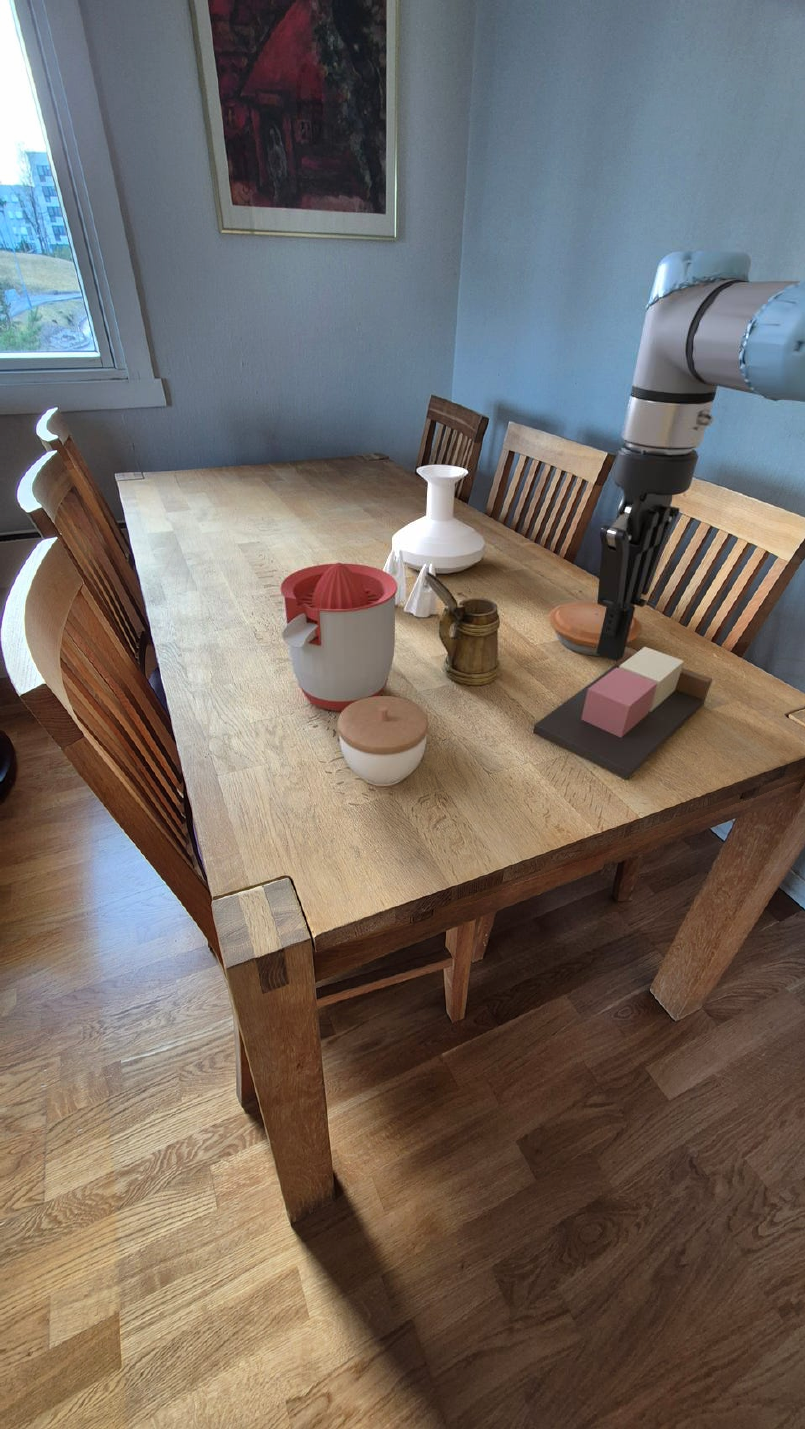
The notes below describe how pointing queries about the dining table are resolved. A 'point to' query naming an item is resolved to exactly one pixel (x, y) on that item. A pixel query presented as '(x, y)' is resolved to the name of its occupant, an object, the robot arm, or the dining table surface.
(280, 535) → the dining table surface
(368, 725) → the trinket box
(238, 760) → the dining table surface
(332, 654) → the citrus juicer
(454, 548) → the white vase
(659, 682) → the cream block
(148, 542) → the dining table surface
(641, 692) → the pink block
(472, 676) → the wooden mug
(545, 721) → the backrest board
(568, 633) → the pie
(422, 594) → the shaker set
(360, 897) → the dining table surface
